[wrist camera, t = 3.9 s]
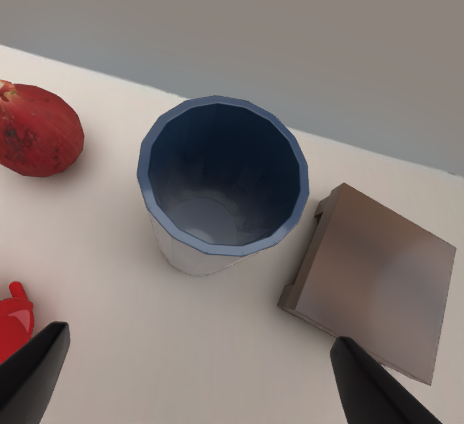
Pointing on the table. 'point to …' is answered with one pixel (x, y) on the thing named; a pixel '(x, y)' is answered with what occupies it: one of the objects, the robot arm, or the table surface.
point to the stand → (374, 282)
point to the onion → (37, 131)
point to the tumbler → (220, 182)
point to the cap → (15, 321)
